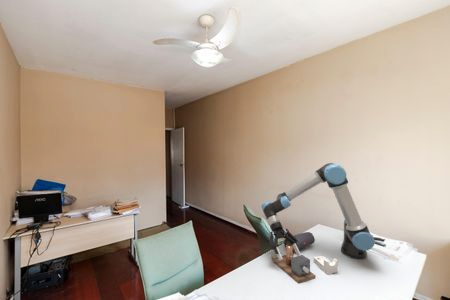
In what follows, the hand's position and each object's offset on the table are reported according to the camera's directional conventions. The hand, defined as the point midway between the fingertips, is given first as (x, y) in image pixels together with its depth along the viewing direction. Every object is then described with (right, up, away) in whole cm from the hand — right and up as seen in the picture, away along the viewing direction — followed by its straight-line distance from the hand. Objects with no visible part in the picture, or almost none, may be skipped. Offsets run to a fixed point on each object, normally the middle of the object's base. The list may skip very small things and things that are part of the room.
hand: (290, 257), depth 125 cm
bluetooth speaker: (+14, -6, +24) cm, 28 cm away
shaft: (+2, -4, -5) cm, 7 cm away
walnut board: (0, -6, 0) cm, 6 cm away
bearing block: (+3, -5, -8) cm, 10 cm away
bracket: (+21, -7, 0) cm, 22 cm away
